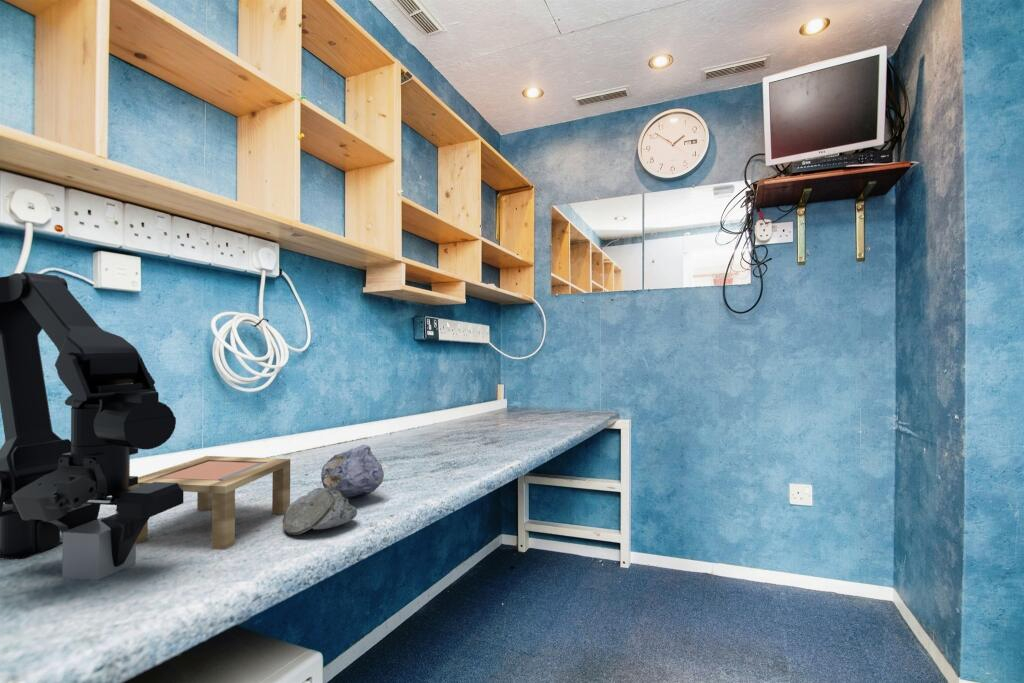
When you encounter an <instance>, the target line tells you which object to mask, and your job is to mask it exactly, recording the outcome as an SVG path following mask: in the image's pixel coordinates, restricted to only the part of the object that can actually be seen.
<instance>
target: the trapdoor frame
mask: <svg viewBox="0 0 1024 683" xmlns="http://www.w3.org/2000/svg"><path fill="white" fill-rule="evenodd" d="M208 461H217V462H244V463H264V464H262V465H259V466H257V467H254V468H252V469H249V470H247V471H244V472H242V473H239V474H237V475H235V476H232V477H230V478H227V479H225V480H222V481H219V480H196V479H172V478H160V477H163V476H166V475H169V474H172V473H175V472H178V471H181V470H184V469H187V468H190V467H193V466H196V465H199V464H202V463H205V462H208ZM271 474H272V488H271V489H272V491H271V492H272V496H271V497H272V499H271V500H272V506H271V507H272V509H271V510H272V512H271V514H272V515H284V514H285V512H286V510H287V509H288V507H289V506H290V505H291V458H273V457H272V458H271V457H248V456H247V457H246V456H245V457H244V456H243V457H242V456H220V455H204V456H202V457H198V458H195V459H192V460H189V461H186V462H183V463H180V464H177V465H176V464H175V465H172V466H170V467H167V468H164V469H163V468H162V469H161V470H160V469H159V470H157V471H153V472H151V473H148V474H144V475H142V476H138V484H136V485H133V486H130V487H129V489H128V490H132V489H135V488H138V487H141V486H144V485H147V484H150V483H153V482H167V483H178V484H179V485H180V486H182V487H183V491H184V492H186V493H187V492H189V493H197V498H196V499H197V501H196V502H197V505H196V506H197V508H196V509H197V511H205V512H206V511H210V510H211V549H212V550H224V551H225V550H227V549H228V548H230V547H232V546H234V545H235V542H236V541H235V540H236V539H235V537H236V536H235V535H236V534H235V533H236V531H235V530H236V529H235V528H236V527H235V526H236V522H235V521H236V519H235V518H236V489H238V488H240V487H243V486H245V485H248V484H250V483H253V482H254V481H257V480H259V479H261V478H263V477H265V476H268V475H271ZM148 522H149V520H148V521H147V523H146V524H145V526H144V527H143V529H142V531H141V532H140V534H139V536H138V538H137V540H136V545H139V543H142V542H143V541H146V540H149V539H148V537H149V536H148V534H149V527H148V526H149V523H148Z"/></svg>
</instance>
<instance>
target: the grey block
mask: <svg viewBox="0 0 1024 683" xmlns="http://www.w3.org/2000/svg"><path fill="white" fill-rule="evenodd" d="M106 517H107V516H106ZM106 517H105V516H104V517H103V516H102V517H100V518H99V517H98V519H96V520H94V521H91V522H88V523H86V524H83V525H80V526H78V527H75V528H72V529H70V530H67V531H64V532H63V535H62V538H63V544H62V568H61V570H62V571H61V572H62V575H61V578H63V579H77V580H78V579H79V580H81V579H82V580H97V581H98V580H101V579H103V578H106V577H108V576H110V575H112V574H114V573H117V572H119V571H120V570H121V571H122V570H123V569H125V568H129V567H130V566H133V565H135V564H136V561H137V560H136V559H137V558H136V557H137V549H136V548H137V544H136V542H135V544H134V545H133V547H132V549H131V551H130V553H129V555H128V557H127V559H126V560H125V562H124V564H122V565H120V566H118V567H114V564H113V559H112V546H111V529H110V527H108V526H107V525H106V524H104V523H103V522H101V519H103V518H106Z"/></svg>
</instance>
